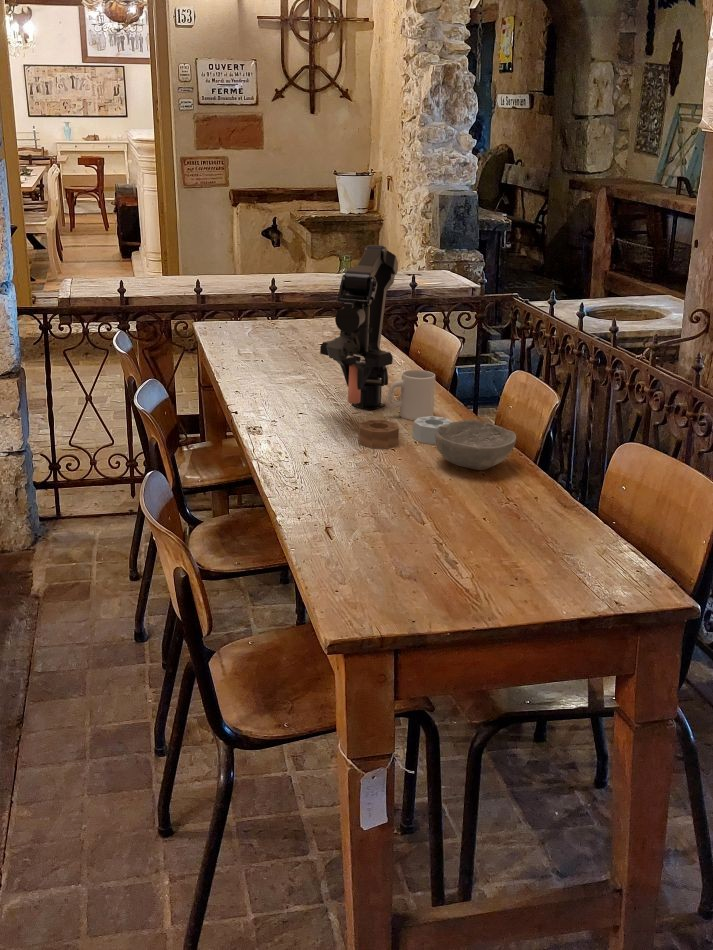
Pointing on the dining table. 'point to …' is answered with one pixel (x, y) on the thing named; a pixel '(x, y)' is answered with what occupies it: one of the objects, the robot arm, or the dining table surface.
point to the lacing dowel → (353, 385)
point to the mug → (414, 394)
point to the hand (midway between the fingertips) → (354, 388)
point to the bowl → (474, 443)
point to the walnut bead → (378, 434)
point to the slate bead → (428, 428)
